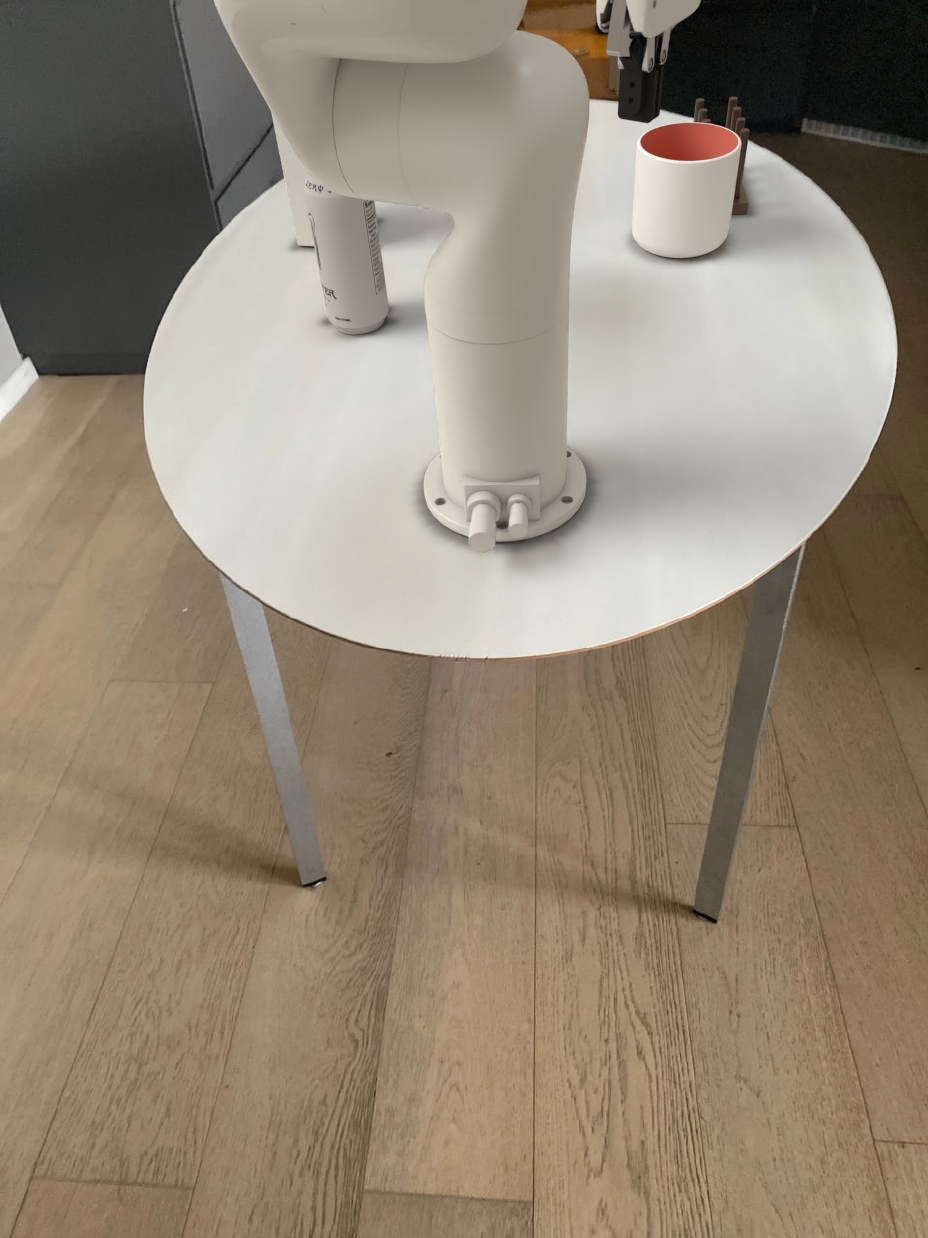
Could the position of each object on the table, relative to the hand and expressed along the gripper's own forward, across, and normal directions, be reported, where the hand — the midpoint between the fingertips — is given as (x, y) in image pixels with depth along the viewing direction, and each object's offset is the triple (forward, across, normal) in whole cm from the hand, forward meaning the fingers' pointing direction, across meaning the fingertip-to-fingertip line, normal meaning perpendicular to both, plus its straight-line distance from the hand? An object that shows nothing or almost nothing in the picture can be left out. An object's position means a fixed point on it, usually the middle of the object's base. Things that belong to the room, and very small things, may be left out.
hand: (638, 117), depth 82 cm
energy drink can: (+17, -16, +21) cm, 31 cm away
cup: (+16, +13, 0) cm, 21 cm away
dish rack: (+16, +25, +2) cm, 30 cm away
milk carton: (+16, -3, +35) cm, 38 cm away
